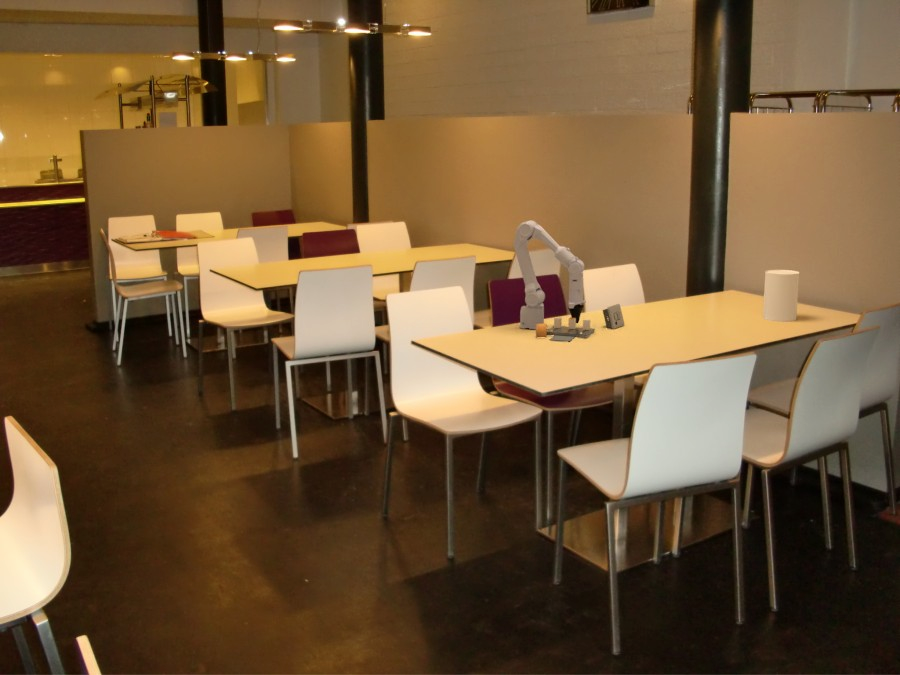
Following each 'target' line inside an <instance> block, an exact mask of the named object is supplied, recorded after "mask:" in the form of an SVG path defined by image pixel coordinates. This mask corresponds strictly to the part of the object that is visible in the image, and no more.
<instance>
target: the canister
mask: <svg viewBox="0 0 900 675" xmlns="http://www.w3.org/2000/svg"><path fill="white" fill-rule="evenodd" d="M764 273H765V274H764V291H763V306H762V319H763V320H765V321H769V322H770V321H771V322H779V323H780V322H783V323H785V322H787V323H788V322H794V321H797V316H798V315H797V312H798V300H799V299H798V298H799V285H800V284H799V283H800V271H798V270H791V269H768V270H765V272H764Z"/></svg>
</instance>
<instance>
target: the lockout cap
mask: <svg viewBox="0 0 900 675" xmlns="http://www.w3.org/2000/svg"><path fill="white" fill-rule="evenodd" d="M547 328H548V325H547V323H544V324H543V323H540V324H536V329H535V330H536V332H535V333H536V336H537V337H546V338H547V337H548V336H547V330H548V329H547ZM537 337H536V338H537Z"/></svg>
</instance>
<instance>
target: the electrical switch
mask: <svg viewBox="0 0 900 675" xmlns="http://www.w3.org/2000/svg"><path fill="white" fill-rule="evenodd" d="M602 314H603V318H604V322H605V327H606V328H607V329H610V328H611V329H612V330H615V329H618V328H620V327H624V326H625V321H624V316H623V311H622V309H621V305H620V303H617V304H613V305H610V306H607V308H605V309H602Z"/></svg>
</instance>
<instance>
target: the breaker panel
mask: <svg viewBox="0 0 900 675" xmlns="http://www.w3.org/2000/svg"><path fill="white" fill-rule="evenodd" d="M595 331H596V329H595V328H591V327H590V330H583V327H577V326H576V328H575V329H568V326H563V325H561V328H554V325H553V326H552V327H550V328H548V329H547V335H554V336H555V335H557V336H571V337H581V338H580V339H588V338H589V337H590V336H592V335H593V334H594V333H595ZM591 334H592V335H591ZM554 336H553V337H554ZM587 337H588V338H587Z"/></svg>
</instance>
